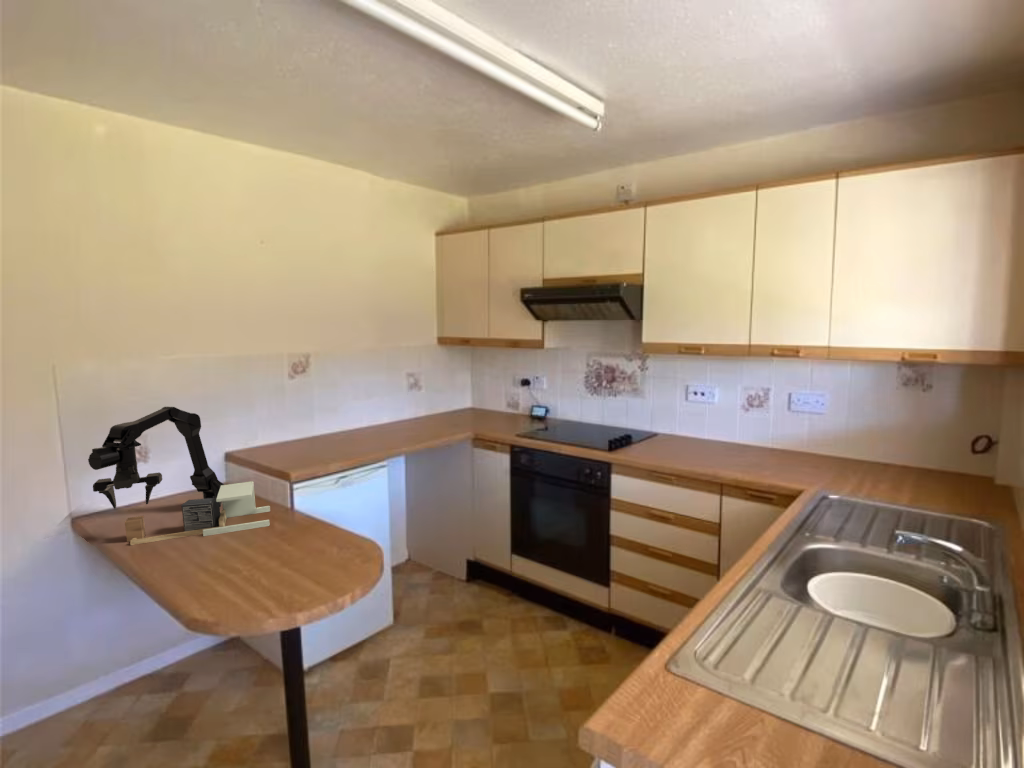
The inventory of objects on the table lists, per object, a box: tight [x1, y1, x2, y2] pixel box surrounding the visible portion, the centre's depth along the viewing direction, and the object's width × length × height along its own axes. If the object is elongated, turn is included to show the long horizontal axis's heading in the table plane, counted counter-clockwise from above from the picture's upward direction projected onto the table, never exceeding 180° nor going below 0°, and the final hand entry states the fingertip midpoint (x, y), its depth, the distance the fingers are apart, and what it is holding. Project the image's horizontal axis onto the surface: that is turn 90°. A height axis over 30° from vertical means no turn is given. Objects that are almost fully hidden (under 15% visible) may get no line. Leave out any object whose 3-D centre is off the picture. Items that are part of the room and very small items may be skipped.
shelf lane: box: [202, 480, 271, 537], centre depth 200 cm, size 17×21×12 cm
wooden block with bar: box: [124, 509, 227, 546], centre depth 193 cm, size 12×29×7 cm, turn 113°
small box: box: [180, 498, 221, 532], centre depth 195 cm, size 11×6×10 cm, turn 99°
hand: (131, 506), depth 187 cm, fingers open, 9 cm apart
